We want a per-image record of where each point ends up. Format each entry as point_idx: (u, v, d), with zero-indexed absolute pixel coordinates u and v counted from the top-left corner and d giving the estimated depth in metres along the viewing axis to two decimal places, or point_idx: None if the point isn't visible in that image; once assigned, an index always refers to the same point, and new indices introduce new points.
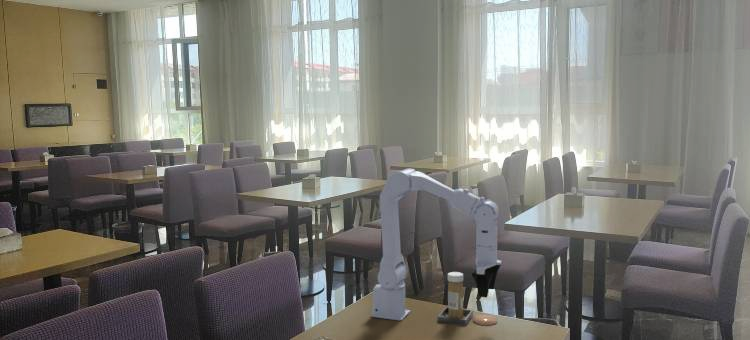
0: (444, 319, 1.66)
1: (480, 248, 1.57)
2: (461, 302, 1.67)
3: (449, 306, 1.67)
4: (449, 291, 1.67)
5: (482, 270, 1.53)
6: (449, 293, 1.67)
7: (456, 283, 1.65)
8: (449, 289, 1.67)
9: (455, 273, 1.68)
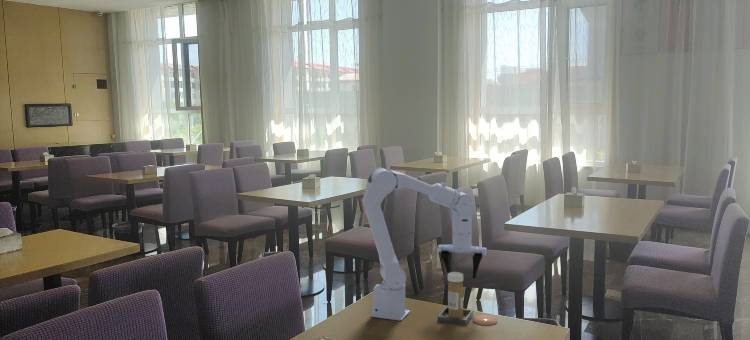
0: (444, 319, 1.66)
1: None
2: (461, 302, 1.67)
3: (449, 306, 1.67)
4: (449, 291, 1.67)
5: None
6: (449, 293, 1.67)
7: (456, 283, 1.65)
8: (449, 289, 1.67)
9: (455, 273, 1.68)
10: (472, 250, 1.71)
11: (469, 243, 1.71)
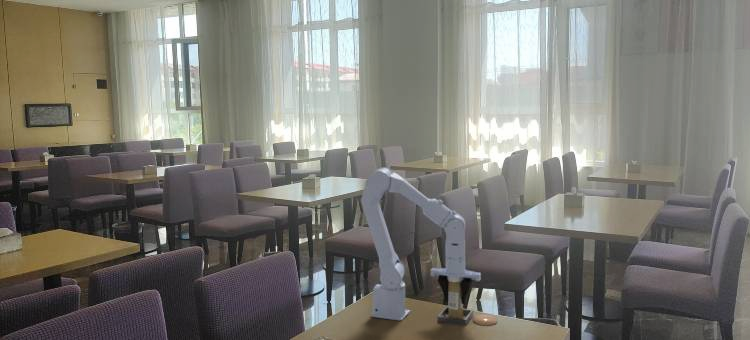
0: (444, 319, 1.66)
1: None
2: (461, 302, 1.67)
3: (449, 306, 1.67)
4: (449, 291, 1.67)
5: None
6: (449, 293, 1.67)
7: (456, 283, 1.65)
8: (449, 289, 1.67)
9: None
10: (465, 275, 1.64)
11: (462, 268, 1.65)
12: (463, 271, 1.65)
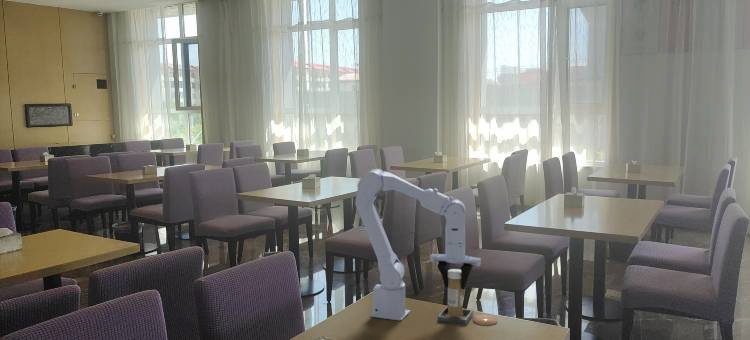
0: (444, 319, 1.66)
1: None
2: (461, 299, 1.67)
3: (449, 303, 1.67)
4: (449, 288, 1.67)
5: None
6: (449, 290, 1.67)
7: (456, 280, 1.65)
8: (449, 286, 1.67)
9: (455, 270, 1.68)
10: (465, 260, 1.64)
11: (462, 254, 1.64)
12: (463, 256, 1.65)
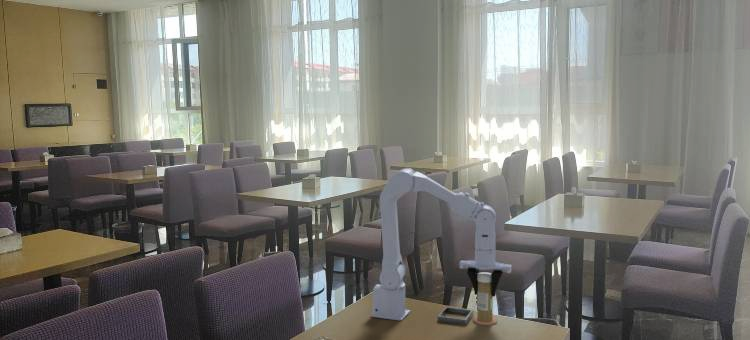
0: (444, 319, 1.66)
1: None
2: (491, 303, 1.64)
3: (478, 307, 1.65)
4: (479, 292, 1.64)
5: None
6: (479, 294, 1.64)
7: (486, 284, 1.63)
8: (479, 290, 1.64)
9: (485, 273, 1.65)
10: (496, 267, 1.61)
11: (493, 260, 1.62)
12: (493, 263, 1.62)
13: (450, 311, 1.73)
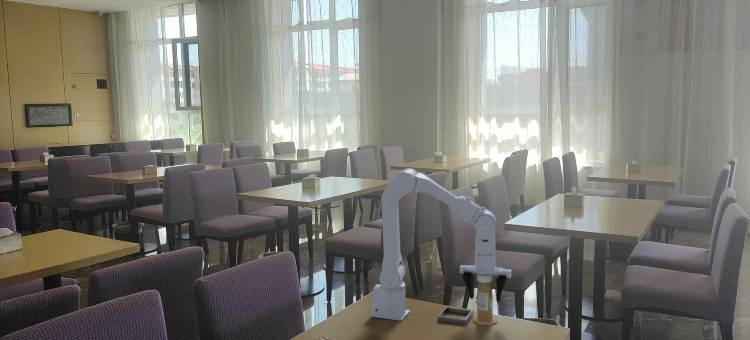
0: (444, 319, 1.66)
1: None
2: (491, 303, 1.64)
3: (478, 307, 1.65)
4: (479, 292, 1.64)
5: None
6: (479, 294, 1.64)
7: (486, 283, 1.63)
8: (479, 290, 1.64)
9: None
10: (496, 272, 1.61)
11: (493, 265, 1.62)
12: (493, 268, 1.63)
13: (450, 311, 1.73)
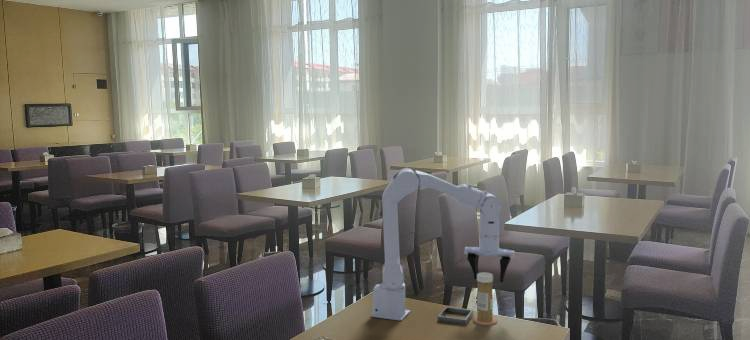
0: (444, 319, 1.66)
1: None
2: (491, 303, 1.64)
3: (478, 307, 1.65)
4: (479, 292, 1.64)
5: None
6: (479, 294, 1.64)
7: (486, 284, 1.63)
8: (479, 290, 1.64)
9: (484, 273, 1.65)
10: (499, 253, 1.67)
11: (497, 246, 1.67)
12: (497, 249, 1.68)
13: (450, 311, 1.73)
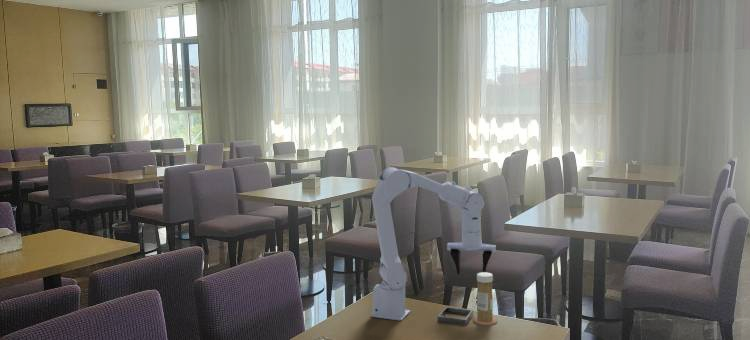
0: (444, 319, 1.66)
1: None
2: (491, 303, 1.64)
3: (478, 307, 1.65)
4: (478, 292, 1.64)
5: (447, 246, 1.77)
6: (478, 294, 1.64)
7: (486, 284, 1.63)
8: (478, 290, 1.64)
9: (484, 273, 1.65)
10: (482, 248, 1.73)
11: (479, 241, 1.74)
12: (479, 244, 1.74)
13: (450, 311, 1.73)
